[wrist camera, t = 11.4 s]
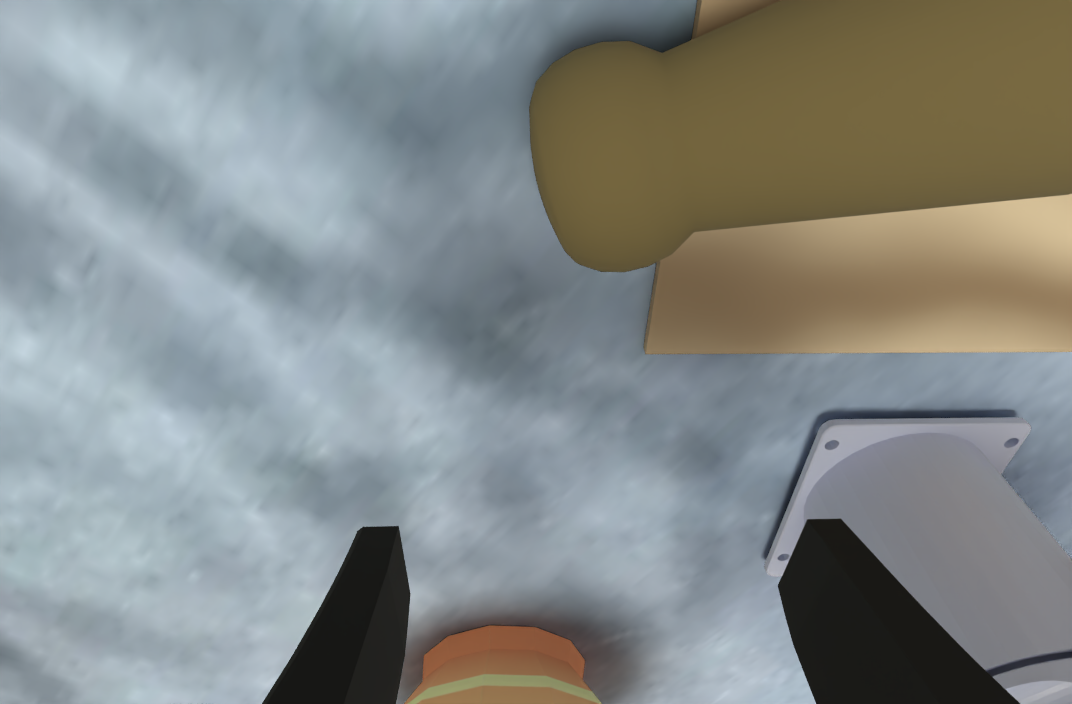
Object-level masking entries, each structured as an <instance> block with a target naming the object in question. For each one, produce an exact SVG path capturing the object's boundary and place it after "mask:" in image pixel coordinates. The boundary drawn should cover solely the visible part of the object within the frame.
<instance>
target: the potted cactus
mask: <svg viewBox="0 0 1072 704" xmlns="http://www.w3.org/2000/svg"><path fill="white" fill-rule="evenodd" d="M584 665H585V660H584V658H583V657H582V655H581V654H580V653H579V651H578V650H577V649H576V647H575V646H574V645H573V643H572V642H571V641H570V640H568V639H565V638H563V637H560V636H558V635H555V634H552V633H550V632H547V631H544V630H542V629H539V628H536V627H520V626H493V625H489V626H485V627H481V628H477V629H473V630H470V631H466V632H462V633H458V634H454V635H450V636H447V637H446V638H445V639H444V640H442V641H441V642H440V643H439V644H437V645H436V646H435V647H434V648H432V649H431V650H430V651H429V652H427V653H426V654H425V655H424V660H423V681H422V682H421V684H420V685H419V686H418V687H417V688H416V690H415V691H414V692H413V693H412V694H411V696H410V697H409V698H408V699H407V700H406V702H405V703H404V704H602V703H601V702H600V701H599V699H598V698H597V697H596V696H595V694H594V693H593V692H592V691H591V690H590V688H589V687H588V686H587V685H586V683H585V682H584V681H583V673H584Z"/></svg>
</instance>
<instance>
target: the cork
mask: <svg viewBox="0 0 1072 704" xmlns="http://www.w3.org/2000/svg"><path fill="white" fill-rule="evenodd" d="M529 112H530V142H531V151H532V159H533V165H534V171H535V176H536V181H537V185H538V189H539V192H540V195H541V199H542V202H543V205H544V208H545V210H546V213H547V216H548V218H549V221H550V223H551V225H552V227H553V229H554V231H555V233H556V235H557V237H558V240H559V242H560V243H561V245H562V247H563V249H564V251H565V252H566V253H567V254H568V255H569V256H570V257H571V258H572V259H573V260H574V261H575V262H576V263H578V264H580V265H582V266H585V267H588V268H591V269H594V270H597V271H601V272H627V271H631V270H635V269H640V268H644V267H648V266H650V265H652V264H654V263H656V262H658V261H660V260H662V259H664V258H666V257H668V256H670V255H672V254H673V253H674V252H675V251H676V250H677V249H678V248H679V247H680V246H681V245H682V244H683V243H684V242H685V241H686V240H687V239H688V238H689V237H690V236H691V235H692V234H693V233H694V232H700V231H710V230H720V229H730V228H740V227H750V226H760V225H770V224H780V223H790V222H800V221H810V220H820V219H830V218H840V217H850V216H860V215H870V214H880V213H890V212H900V211H910V210H920V209H930V208H940V207H950V206H960V205H970V204H980V203H990V202H1000V201H1010V200H1020V199H1030V198H1040V197H1050V196H1060V195H1069V194H1072V0H781V1H779V2H776V3H774V4H772V5H769V6H767V7H765V8H763V9H760V10H758V11H756V12H754V13H751V14H749V15H747V16H745V17H742V18H740V19H738V20H736V21H733V22H731V23H729V24H726V25H724V26H722V27H720V28H717V29H715V30H713V31H711V32H708V33H706V34H704V35H702V36H699V37H697V38H695V39H693V40H690V41H688V42H686V43H684V44H681V45H679V46H677V47H674V48H672V49H670V50H668V51H665V52H663V53H661V52H658V51H655V50H653V49H650V48H647V47H645V46H642V45H639V44H637V43H634V42H631V41H616V42H600V43H596V44H593V45H589V46H586V47H582V48H579V49H575V50H573V51H572V52H570V53H569V54H567V55H565V56H564V57H562V58H560V59H559V60H557V61H555V62H554V63H552V65H551V66H550V67H549V68H548V69H547V70H546V71H545V73H544V74H543V75H542V76H541V77H540V78H539V79H538V80H537V82H536V84H535V88H534V91H533V94H532V98H531V102H530V107H529Z"/></svg>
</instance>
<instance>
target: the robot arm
mask: <svg viewBox="0 0 1072 704" xmlns="http://www.w3.org/2000/svg"><path fill="white" fill-rule="evenodd" d="M1030 431H1031V426H1030V424H1029V423H1028V422H1027V421H1026V420H1024V419H1023V418H1019V417H1004V418H907V419H834V420H829V421H827V422H825V423H824V424H822V425H821V427H820V428H819V430H818V433H817V435H816V438H815V440H814V443H813V445H812V448H811V450H810V453H809V455H808V458H807V460H806V463H805V465H804V467H803V470H802V472H801V475H800V477H799V480H798V482H797V485H796V487H795V490H794V492H793V495H792V497H791V500H790V502H789V505H788V507H787V510H786V512H785V515H784V517H783V519H782V522H781V524H780V527H779V529H778V532H777V534H776V537H775V539H774V542H773V544H772V547H771V549H770V552H769V554H768V557H767V559H766V562H765V564H764V567H765V570H766V573H767V574H768V575H770V576H775V577H776V576H782V578H781V580H780V582H779V584H778V588H779V592H780V596H781V600H782V604H783V608H784V612H785V616H786V620H787V624H788V627H789V631H790V634H791V638H792V641H793V645H794V647H795V650H796V653H797V655H798V658H799V661H800V663H801V666H802V668H803V671H804V673H805V676H806V679H807V681H808V684H809V686H810V689H811V691H812V694H813V696H814V699H815V702H816V704H1072V559H1071V558H1070V557H1069V556H1068V554H1067V553H1066V552H1065V551H1064V550H1063V548H1062V547H1061V546H1060V545H1059V544H1058V542H1057V541H1056V540H1055V539H1054V538H1053V536H1052V535H1051V534H1050V533H1049V532H1048V530H1047V529H1046V528H1045V527H1044V526H1043V524H1042V523H1041V522H1040V521H1039V520H1038V518H1037V517H1036V516H1035V515H1034V514H1033V512H1032V511H1031V510H1030V509H1029V508H1028V506H1027V505H1026V504H1025V503H1024V502H1023V500H1022V499H1021V498H1020V497H1019V496H1018V494H1017V493H1016V492H1015V491H1014V490H1013V488H1012V487H1011V486H1010V485H1009V484H1008V482H1007V481H1006V480H1005V479H1004V478H1003V476H1002V475H1001V474H1002V473H1003V471H1004V470H1005V468H1006V467H1007V465H1008V464H1009V462H1010V461H1011V459H1012V458H1013V456H1014V455H1015V454H1016V452H1017V451H1018V449H1019V448H1020V446H1021V445H1022V443H1023V442H1024V440H1025V439H1026V437H1027V436H1028V435H1029V433H1030ZM829 441H830V442H829ZM409 604H410V589H409V583H408V578H407V572H406V566H405V560H404V554H403V549H402V543H401V537H400V531H399V526H388V527H362V528H361V529H360V530H359V531H357V534H356V536H355V538H354V540H353V543H352V545H351V547H350V549H349V552H348V554H347V556H346V558H345V560H344V562H343V564H342V566H341V568H340V570H339V572H338V574H337V576H336V578H335V580H334V582H333V584H332V586H331V588H330V590H329V592H328V593H327V595H326V597H325V599H324V601H323V603H322V605H321V607H320V608H319V610H318V612H317V614H316V615H315V617H314V619H313V621H312V622H311V624H310V626H309V628H308V629H307V631H306V633H305V635H304V636H303V638H302V640H301V642H300V643H299V645H298V647H297V649H296V650H295V652H294V654H293V655H292V657H291V659H290V660H289V662H288V664H287V665H286V667H285V668H284V670H283V671H282V673H281V675H280V676H279V678H278V679H277V681H276V682H275V684H274V686H273V687H272V689H271V690H270V692H269V693H268V695H267V697H266V698H265V700H264V701H263V703H262V704H396V700H397V694H398V689H399V684H400V678H401V673H402V668H403V662H404V657H405V648H406V638H407V627H408V615H409Z"/></svg>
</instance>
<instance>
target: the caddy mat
mask: <svg viewBox="0 0 1072 704" xmlns="http://www.w3.org/2000/svg"><path fill="white" fill-rule="evenodd" d="M779 1H781V0H698V1H697V7H696V14H695V20H694V26H693V33H692V39H691V40H693V39H695V38H697V37H699V36H702V35H704V34H706V33H708V32H711V31H713V30H715V29H717V28H720V27H722V26H724V25H726V24H729V23H731V22H733V21H736V20H738V19H740V18H742V17H745V16H747V15H749V14H751V13H754V12H756V11H758V10H760V9H763V8H765V7H767V6H769V5H772V4H774V3H776V2H779ZM644 351H645V354H767V353H949V352H1072V194H1069V195H1060V196H1050V197H1040V198H1030V199H1020V200H1010V201H1000V202H990V203H980V204H970V205H960V206H950V207H940V208H930V209H920V210H910V211H900V212H890V213H880V214H870V215H860V216H850V217H840V218H830V219H820V220H810V221H800V222H790V223H780V224H770V225H760V226H750V227H740V228H730V229H720V230H710V231H700V232H694V233H693V234H692V235H691V236H690V237H689V238H688V239H687V240H686V241H685V242H684V243H683V244H682V245H681V246H680V247H679V248H678V249H677V250H676V251H675V252H674V253H673V254H672V255H670V256H668V257H666V258H664V259H662V260H660V261H658V262H657V264H656V270H655V277H654V283H653V289H652V296H651V302H650V309H649V315H648V321H647V328H646V334H645V341H644Z"/></svg>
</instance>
